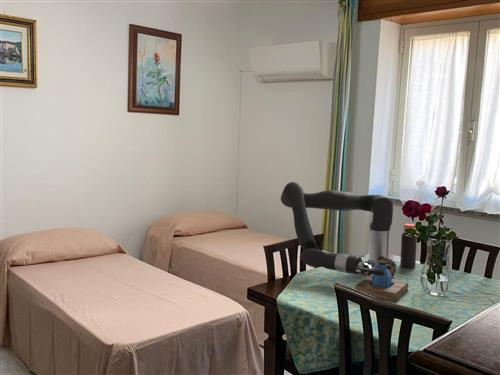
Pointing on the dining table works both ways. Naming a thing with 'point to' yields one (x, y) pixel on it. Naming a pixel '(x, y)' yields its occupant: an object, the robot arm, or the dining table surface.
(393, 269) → the decorative turtle
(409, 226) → the vinegar
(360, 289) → the walnut hole block
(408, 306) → the dining table surface
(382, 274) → the robot arm
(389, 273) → the perfume bottle
